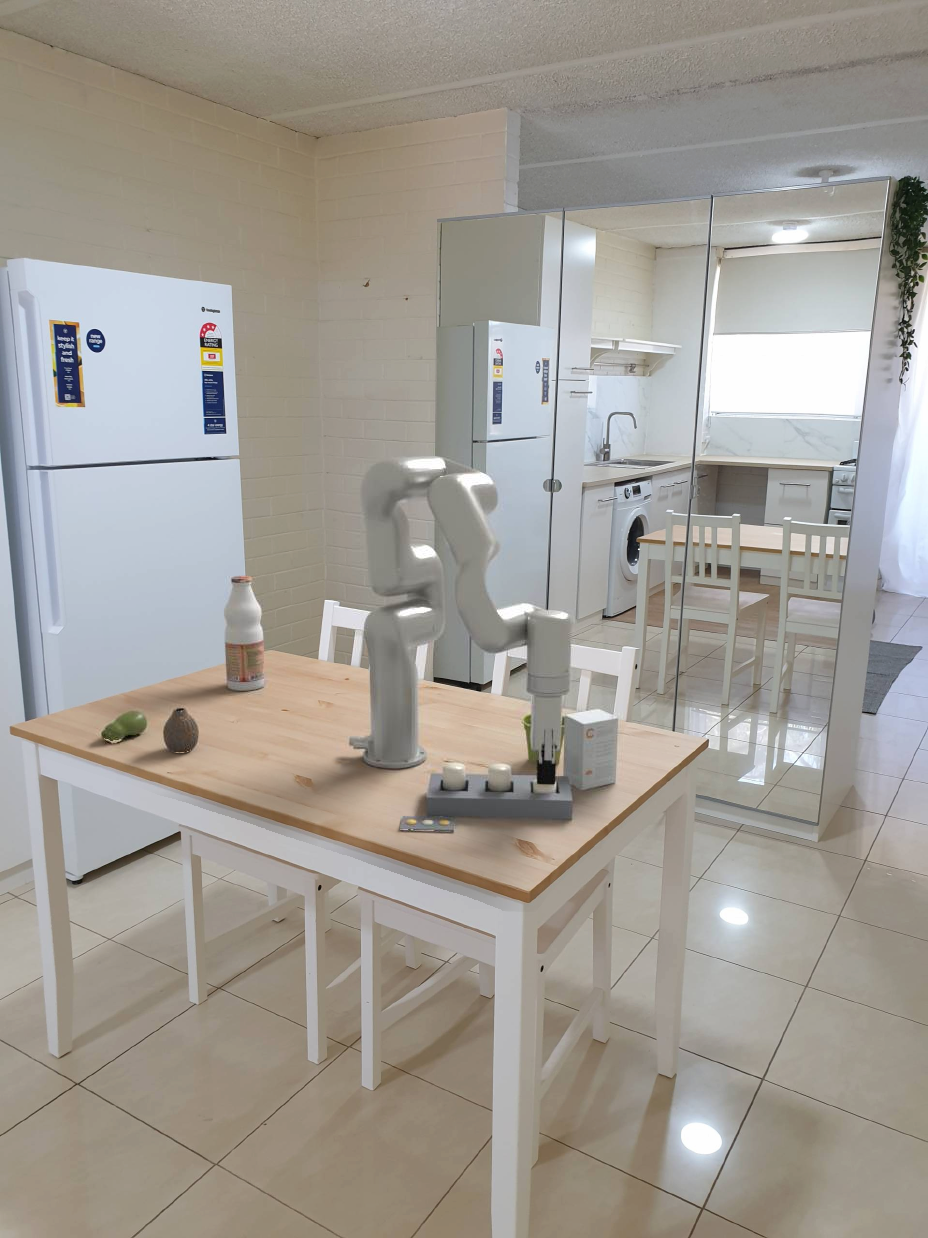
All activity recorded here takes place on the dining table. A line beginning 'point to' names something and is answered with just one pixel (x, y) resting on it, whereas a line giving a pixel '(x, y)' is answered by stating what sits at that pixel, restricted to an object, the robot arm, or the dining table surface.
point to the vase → (180, 731)
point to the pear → (125, 726)
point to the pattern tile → (428, 823)
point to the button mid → (499, 777)
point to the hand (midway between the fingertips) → (545, 782)
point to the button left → (454, 776)
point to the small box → (590, 748)
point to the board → (499, 799)
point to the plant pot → (531, 754)
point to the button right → (543, 788)
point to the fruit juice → (243, 638)
